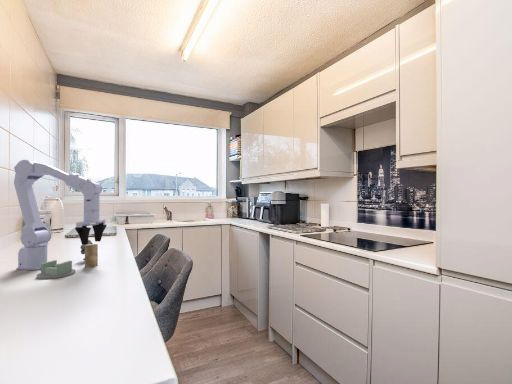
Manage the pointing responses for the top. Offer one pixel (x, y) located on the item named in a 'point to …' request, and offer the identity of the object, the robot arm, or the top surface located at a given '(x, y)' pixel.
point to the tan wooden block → (91, 255)
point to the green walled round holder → (55, 270)
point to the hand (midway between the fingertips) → (91, 242)
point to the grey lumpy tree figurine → (84, 247)
